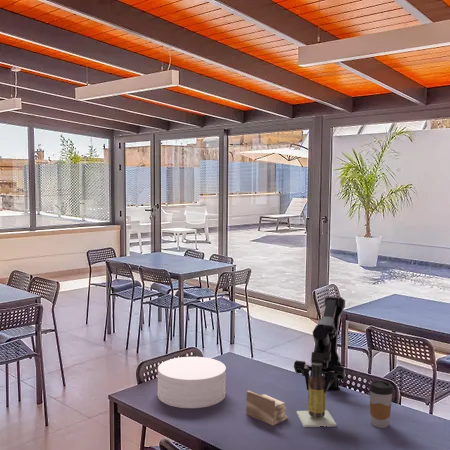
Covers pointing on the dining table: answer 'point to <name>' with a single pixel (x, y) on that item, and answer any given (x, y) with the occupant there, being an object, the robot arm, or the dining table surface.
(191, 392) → the plate stack
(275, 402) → the offcut rack
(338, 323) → the robot arm
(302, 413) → the cream tile board
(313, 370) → the sauce bottle
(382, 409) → the coffee cup
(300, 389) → the dining table surface
